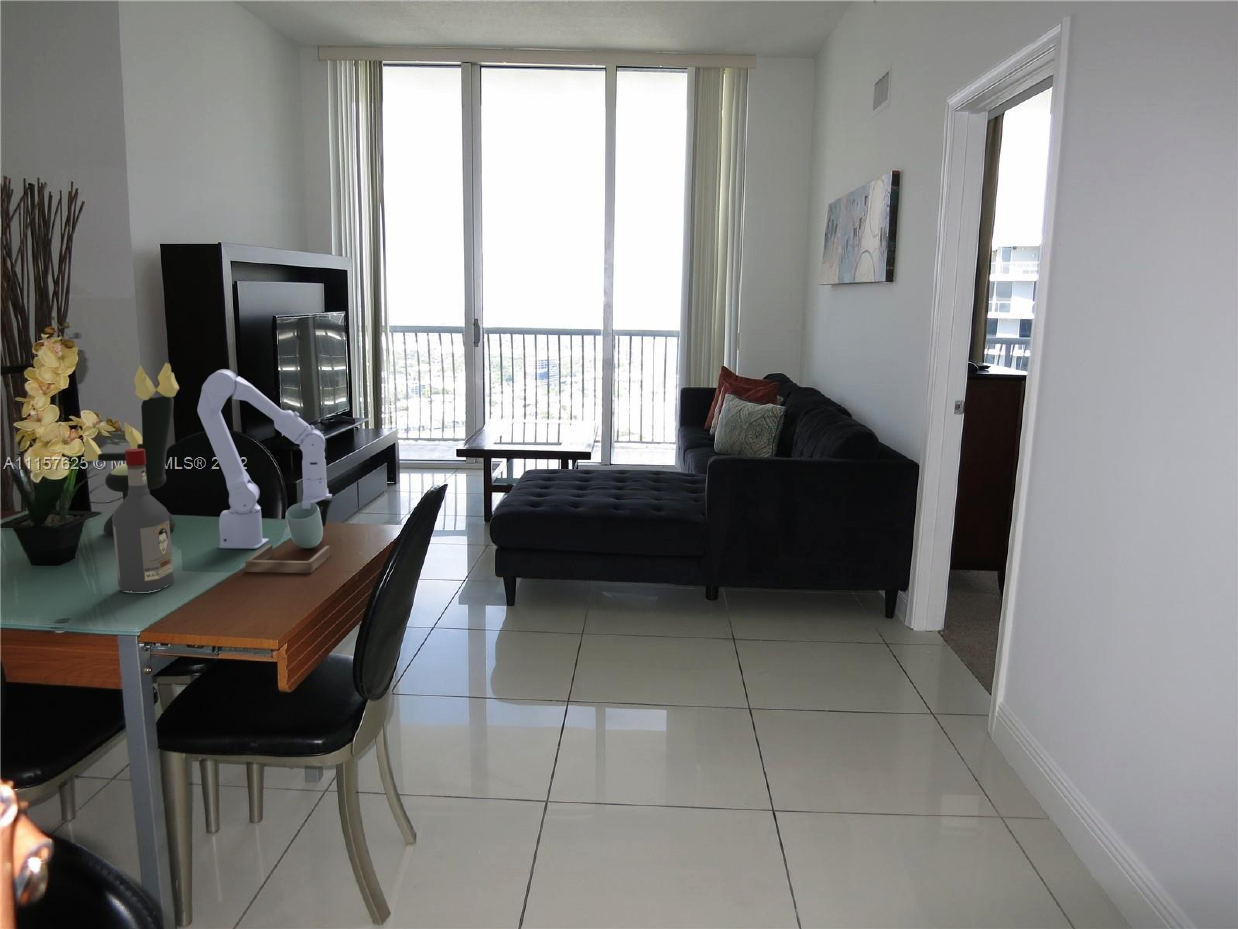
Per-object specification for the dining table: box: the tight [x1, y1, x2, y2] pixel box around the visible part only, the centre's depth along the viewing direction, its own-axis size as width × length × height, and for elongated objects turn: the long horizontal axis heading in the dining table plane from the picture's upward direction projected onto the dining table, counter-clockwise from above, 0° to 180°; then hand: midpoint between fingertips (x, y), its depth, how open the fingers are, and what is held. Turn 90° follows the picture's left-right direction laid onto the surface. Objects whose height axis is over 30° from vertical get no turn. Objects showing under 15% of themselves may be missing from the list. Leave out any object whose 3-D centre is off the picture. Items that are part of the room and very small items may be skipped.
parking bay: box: [244, 544, 331, 574], centre depth 206 cm, size 15×14×2 cm
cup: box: [285, 501, 324, 549], centre depth 216 cm, size 8×8×10 cm
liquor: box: [112, 448, 175, 592], centre depth 185 cm, size 9×9×30 cm
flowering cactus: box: [83, 362, 180, 539], centre depth 225 cm, size 19×22×45 cm
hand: (317, 529), depth 225 cm, fingers open, 5 cm apart
